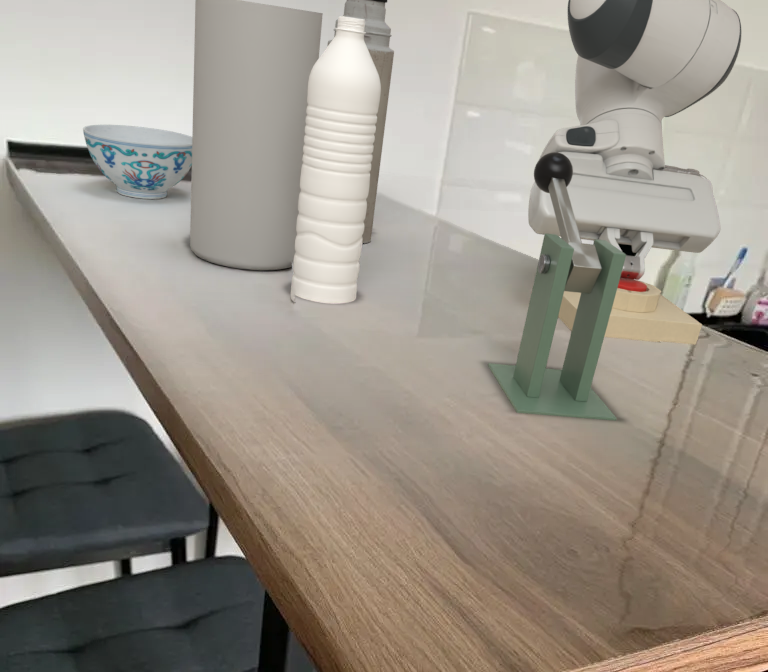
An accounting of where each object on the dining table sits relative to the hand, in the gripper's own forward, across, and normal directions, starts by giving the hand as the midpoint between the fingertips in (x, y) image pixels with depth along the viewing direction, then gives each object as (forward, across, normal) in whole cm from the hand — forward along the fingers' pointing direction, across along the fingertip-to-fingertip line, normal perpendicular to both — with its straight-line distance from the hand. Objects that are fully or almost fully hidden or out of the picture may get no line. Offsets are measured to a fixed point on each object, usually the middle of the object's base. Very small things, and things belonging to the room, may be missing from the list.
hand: (628, 275), depth 89 cm
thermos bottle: (-17, +27, -26) cm, 41 cm away
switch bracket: (+20, +14, +12) cm, 27 cm away
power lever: (+7, +14, +16) cm, 22 cm away
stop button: (+2, 0, -2) cm, 2 cm away
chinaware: (-26, +54, -36) cm, 70 cm away
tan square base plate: (+4, 0, -4) cm, 6 cm away
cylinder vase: (-6, +39, -15) cm, 42 cm away
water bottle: (+4, +31, -5) cm, 32 cm away
